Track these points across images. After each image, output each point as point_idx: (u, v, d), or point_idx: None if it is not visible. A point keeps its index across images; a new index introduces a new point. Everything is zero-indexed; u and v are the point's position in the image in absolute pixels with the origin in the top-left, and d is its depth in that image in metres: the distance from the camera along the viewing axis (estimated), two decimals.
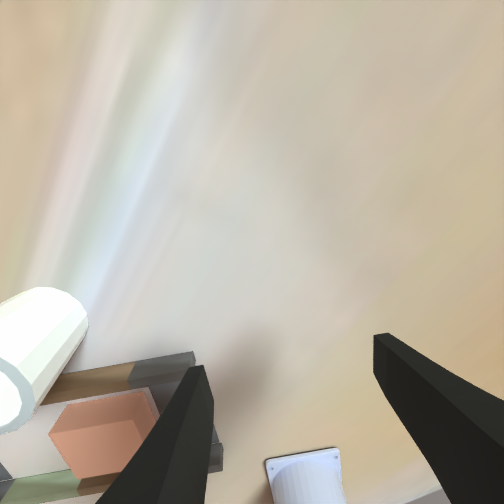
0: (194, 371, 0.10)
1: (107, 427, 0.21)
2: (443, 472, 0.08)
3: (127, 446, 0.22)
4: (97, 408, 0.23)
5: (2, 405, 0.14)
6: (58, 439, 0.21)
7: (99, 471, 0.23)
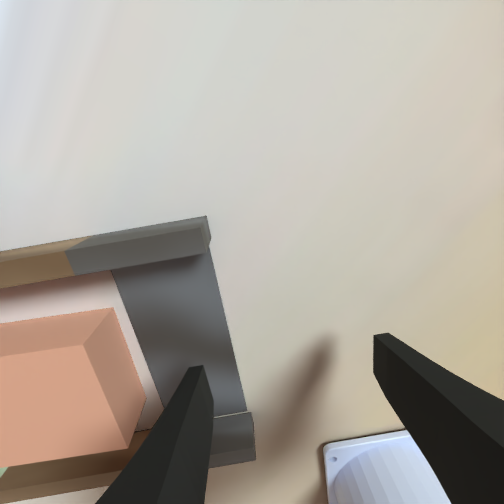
0: (194, 371, 0.10)
1: (29, 361, 0.10)
2: (443, 472, 0.08)
3: (73, 406, 0.11)
4: (19, 331, 0.12)
5: None
6: None
7: (20, 456, 0.12)
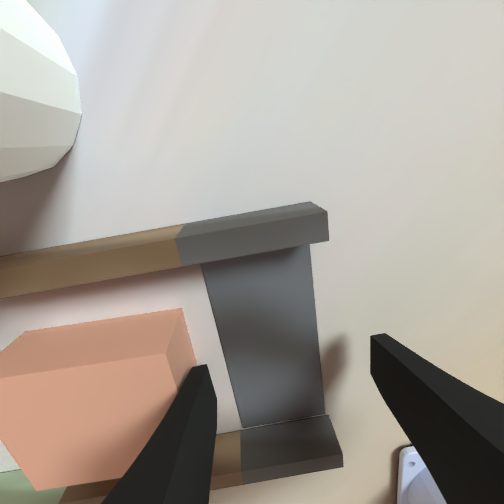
0: (198, 370, 0.10)
1: (104, 372, 0.09)
2: (439, 473, 0.08)
3: (146, 421, 0.10)
4: (83, 337, 0.10)
5: None
6: None
7: (84, 475, 0.11)
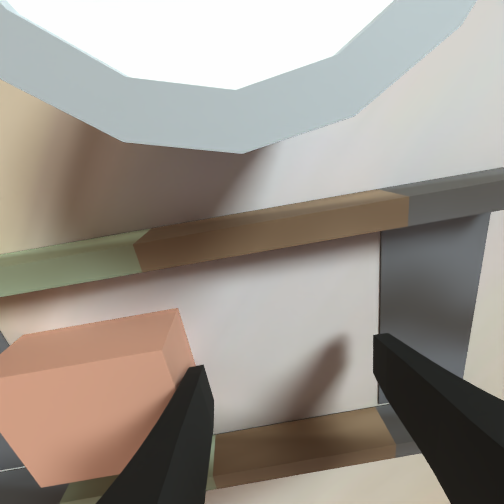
0: (194, 371, 0.10)
1: (103, 370, 0.09)
2: (443, 472, 0.08)
3: (146, 417, 0.10)
4: (82, 336, 0.11)
5: None
6: None
7: (87, 471, 0.11)
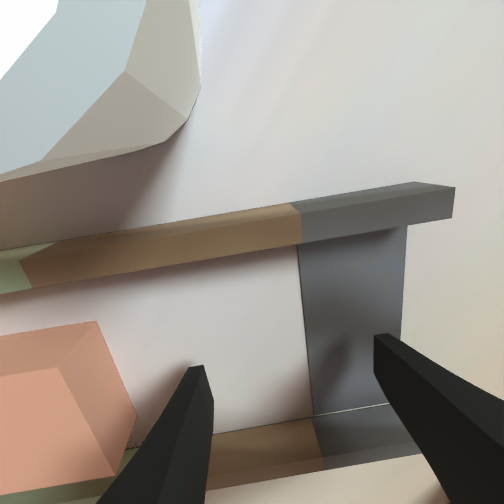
0: (194, 371, 0.10)
1: None
2: (443, 472, 0.08)
3: (50, 433, 0.10)
4: None
5: None
6: None
7: None
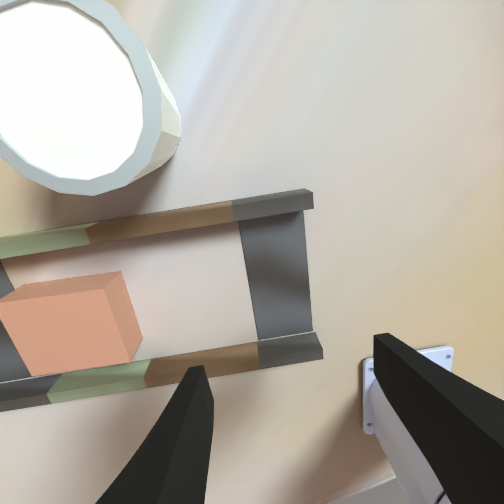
0: (194, 371, 0.10)
1: (70, 299, 0.16)
2: (443, 472, 0.08)
3: (96, 330, 0.17)
4: (60, 284, 0.18)
5: (112, 131, 0.10)
6: (6, 313, 0.16)
7: (60, 366, 0.18)
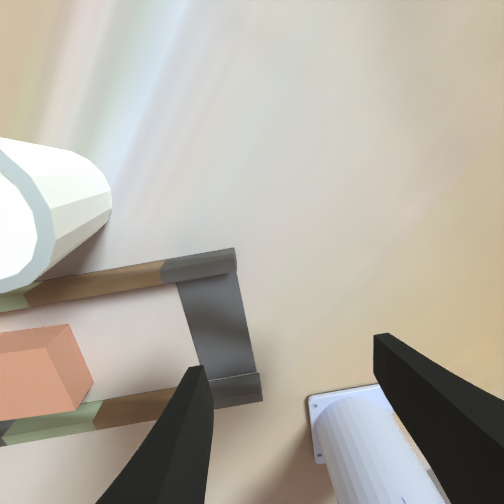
0: (194, 371, 0.10)
1: (14, 357, 0.18)
2: (443, 472, 0.08)
3: (40, 383, 0.19)
4: (9, 338, 0.19)
5: (11, 242, 0.11)
6: None
7: (9, 414, 0.19)
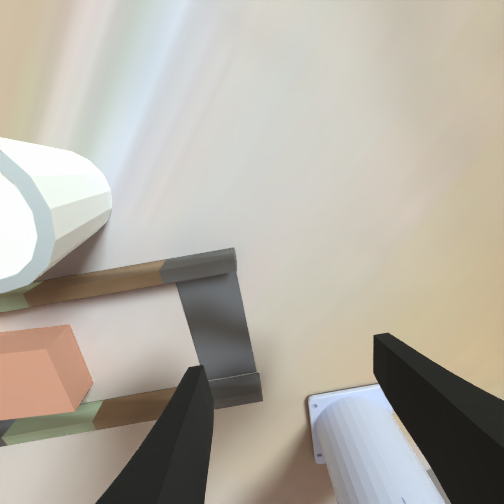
0: (194, 371, 0.10)
1: (15, 357, 0.18)
2: (443, 472, 0.08)
3: (40, 384, 0.19)
4: (10, 338, 0.19)
5: (11, 242, 0.11)
6: None
7: (8, 414, 0.19)
